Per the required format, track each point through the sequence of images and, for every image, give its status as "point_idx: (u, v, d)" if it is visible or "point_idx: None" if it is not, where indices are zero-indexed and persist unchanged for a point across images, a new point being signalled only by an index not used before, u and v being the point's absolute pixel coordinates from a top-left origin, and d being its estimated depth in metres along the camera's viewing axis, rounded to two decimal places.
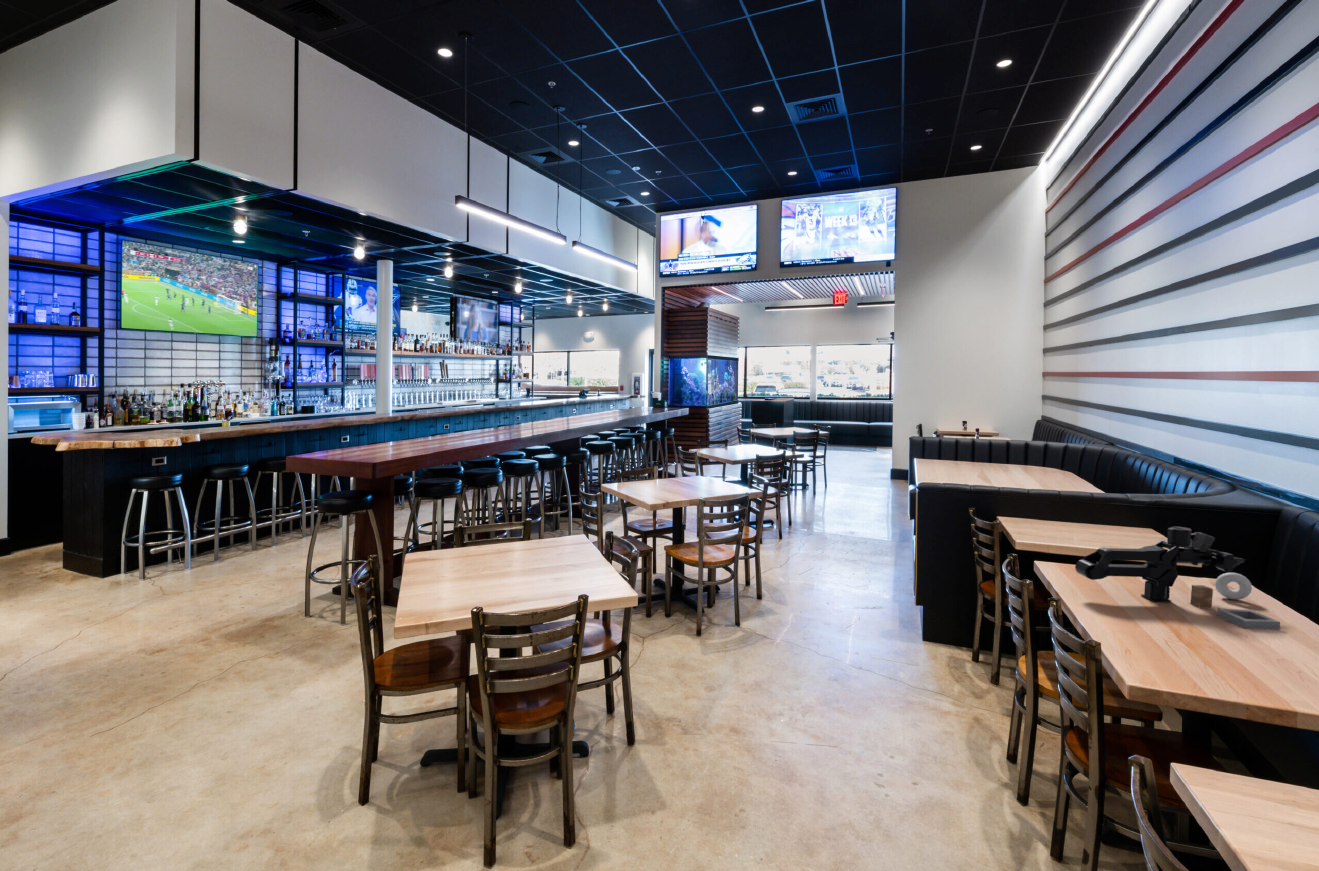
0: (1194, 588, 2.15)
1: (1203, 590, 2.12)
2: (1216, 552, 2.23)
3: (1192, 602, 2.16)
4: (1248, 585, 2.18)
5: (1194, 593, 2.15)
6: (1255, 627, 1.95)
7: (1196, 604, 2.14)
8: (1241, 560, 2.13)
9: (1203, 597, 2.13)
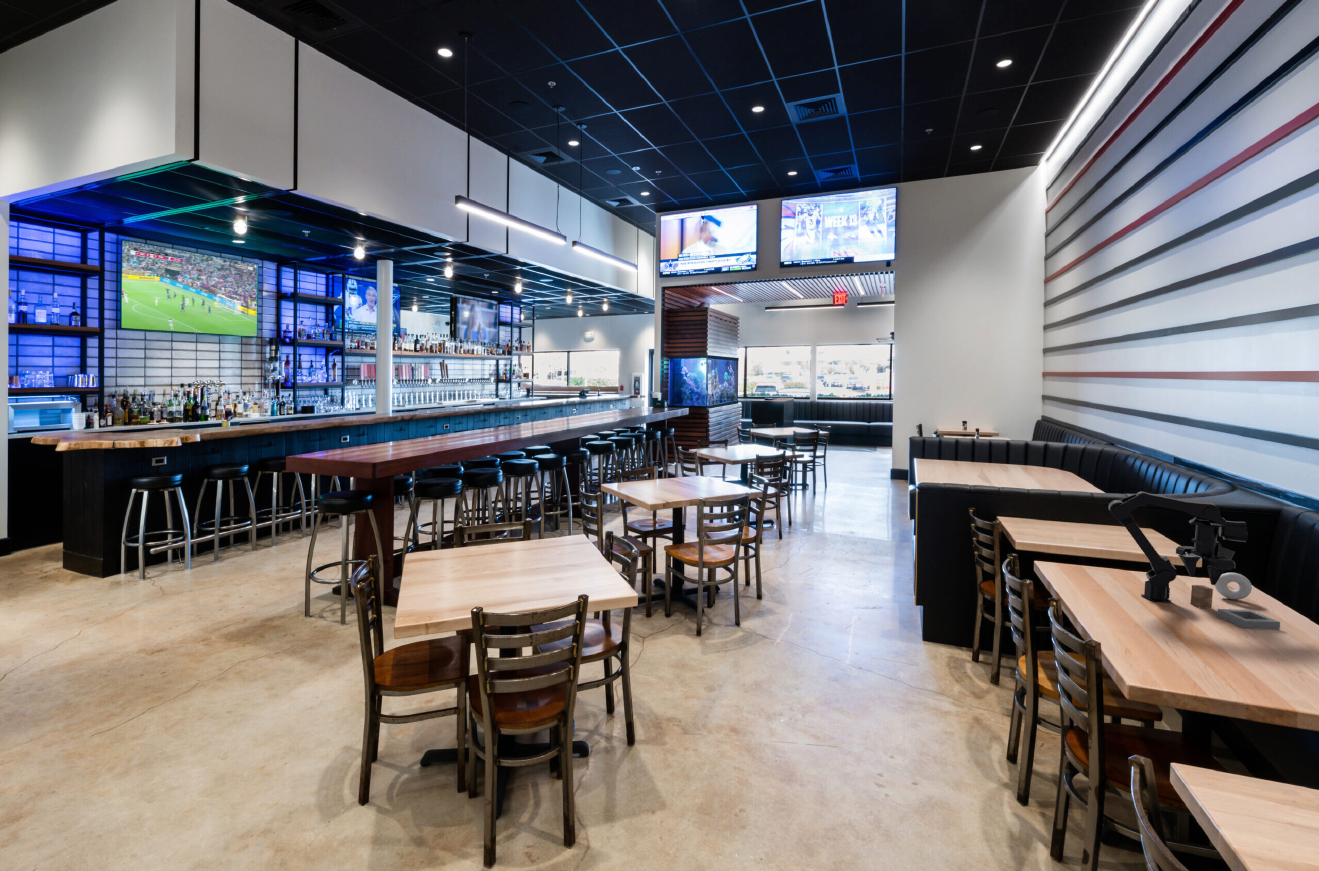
0: (1194, 588, 2.15)
1: (1203, 590, 2.12)
2: (1193, 571, 2.18)
3: (1192, 602, 2.16)
4: (1248, 585, 2.18)
5: (1194, 593, 2.15)
6: (1255, 627, 1.95)
7: (1196, 604, 2.14)
8: (1215, 581, 2.09)
9: (1203, 597, 2.13)
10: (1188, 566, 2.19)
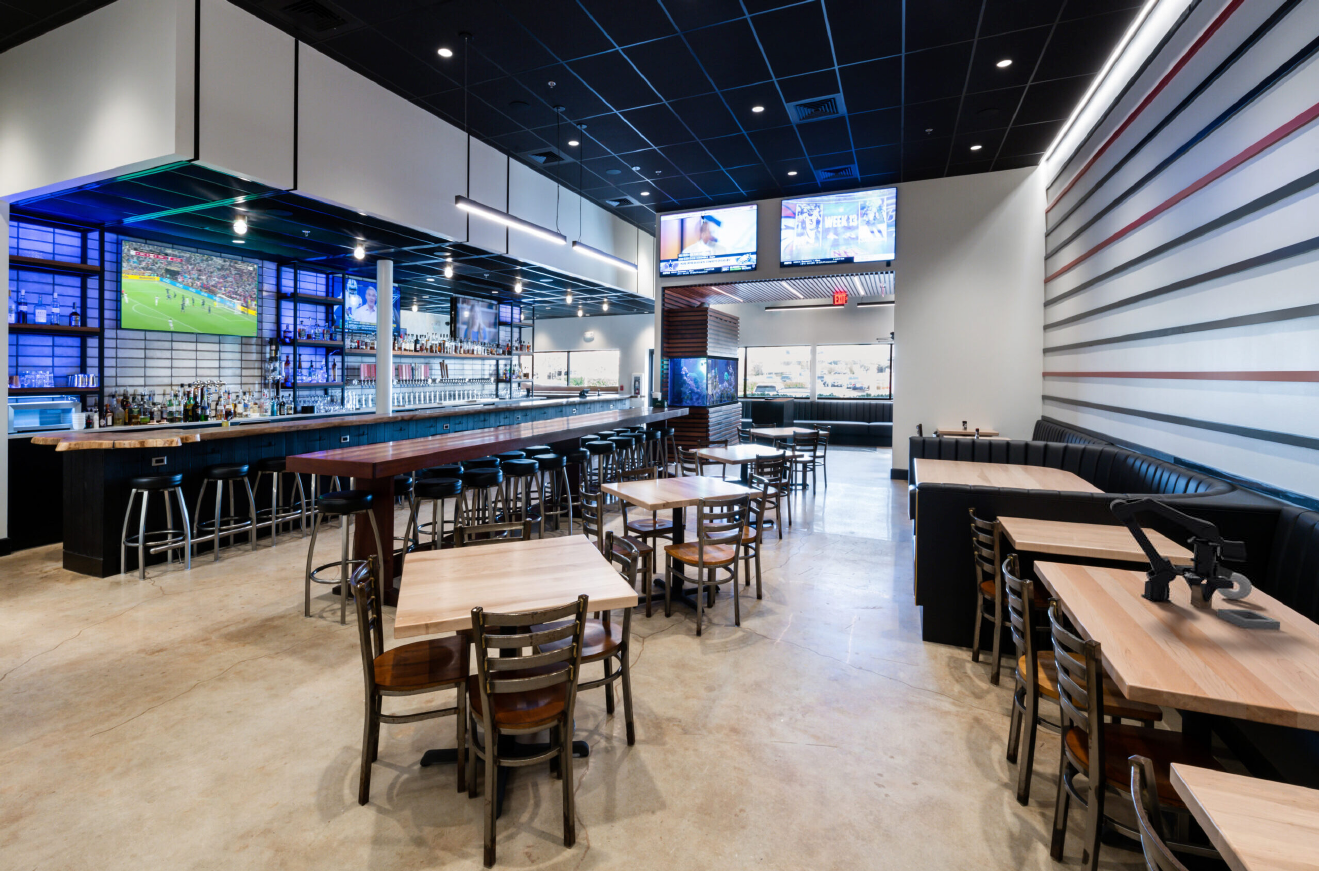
0: (1194, 588, 2.15)
1: None
2: None
3: (1192, 602, 2.16)
4: (1248, 585, 2.18)
5: (1194, 592, 2.15)
6: (1255, 627, 1.95)
7: (1196, 604, 2.14)
8: (1208, 598, 2.12)
9: None
10: None
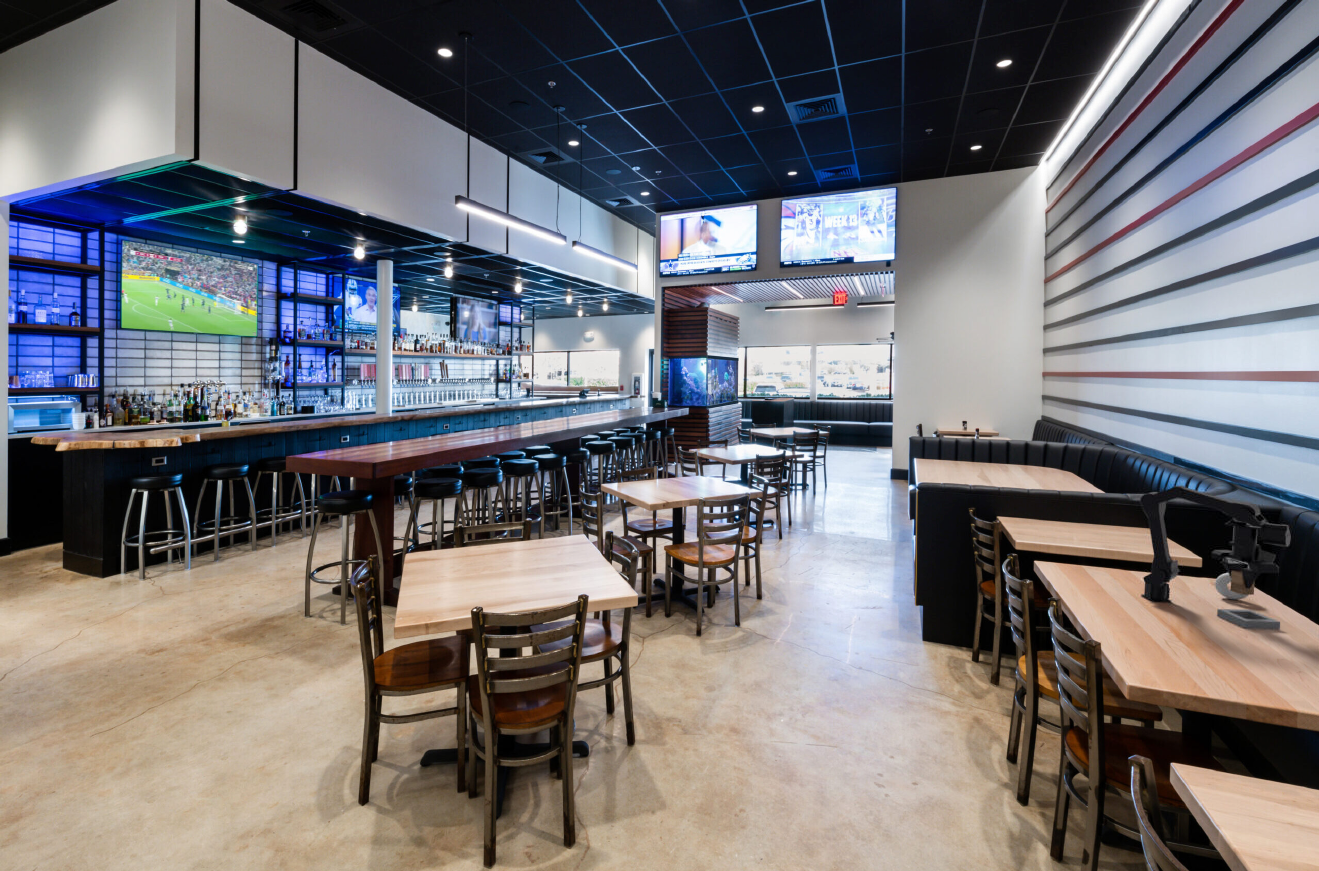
0: (1234, 574, 2.02)
1: None
2: None
3: (1232, 589, 2.03)
4: None
5: (1234, 578, 2.02)
6: (1255, 627, 1.95)
7: (1237, 591, 2.01)
8: (1250, 584, 1.99)
9: None
10: None
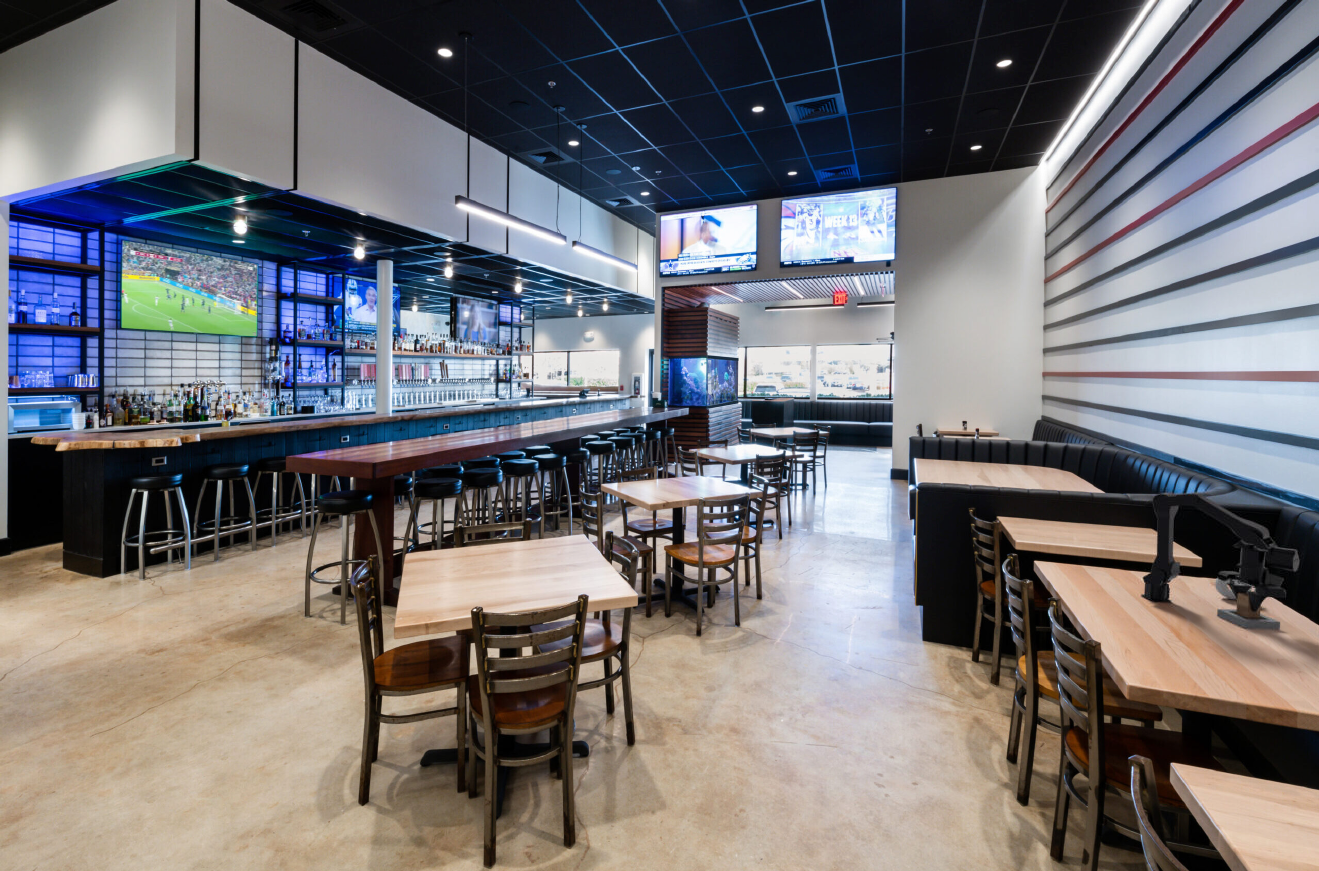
0: (1240, 596, 2.00)
1: None
2: None
3: (1238, 611, 2.01)
4: None
5: (1240, 601, 2.00)
6: (1255, 627, 1.95)
7: (1243, 613, 1.99)
8: (1256, 608, 1.97)
9: None
10: None
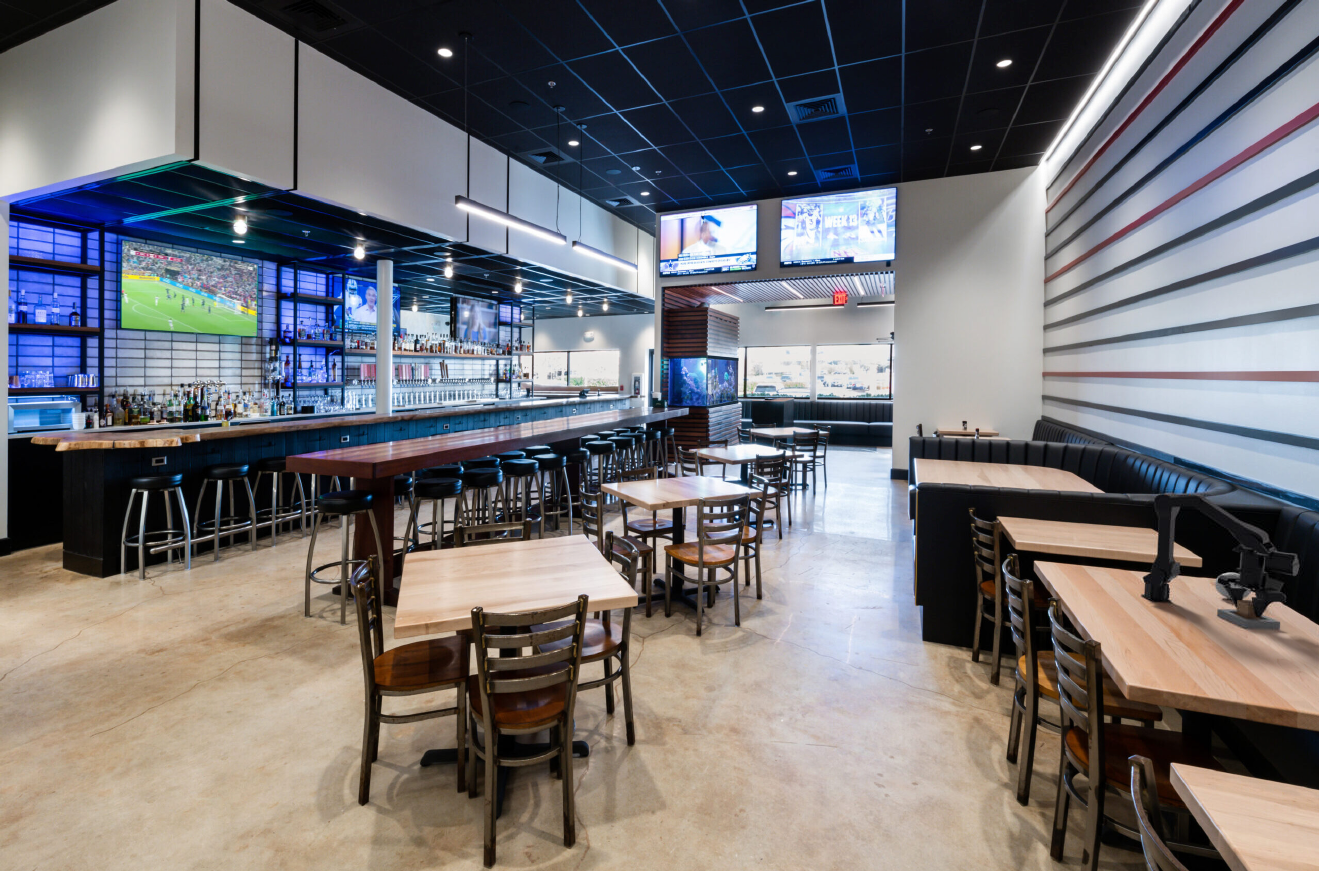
0: (1240, 603, 2.00)
1: (1250, 606, 1.97)
2: None
3: None
4: None
5: (1240, 608, 2.00)
6: (1255, 627, 1.95)
7: None
8: (1260, 614, 1.95)
9: (1251, 613, 1.97)
10: (1234, 598, 2.03)
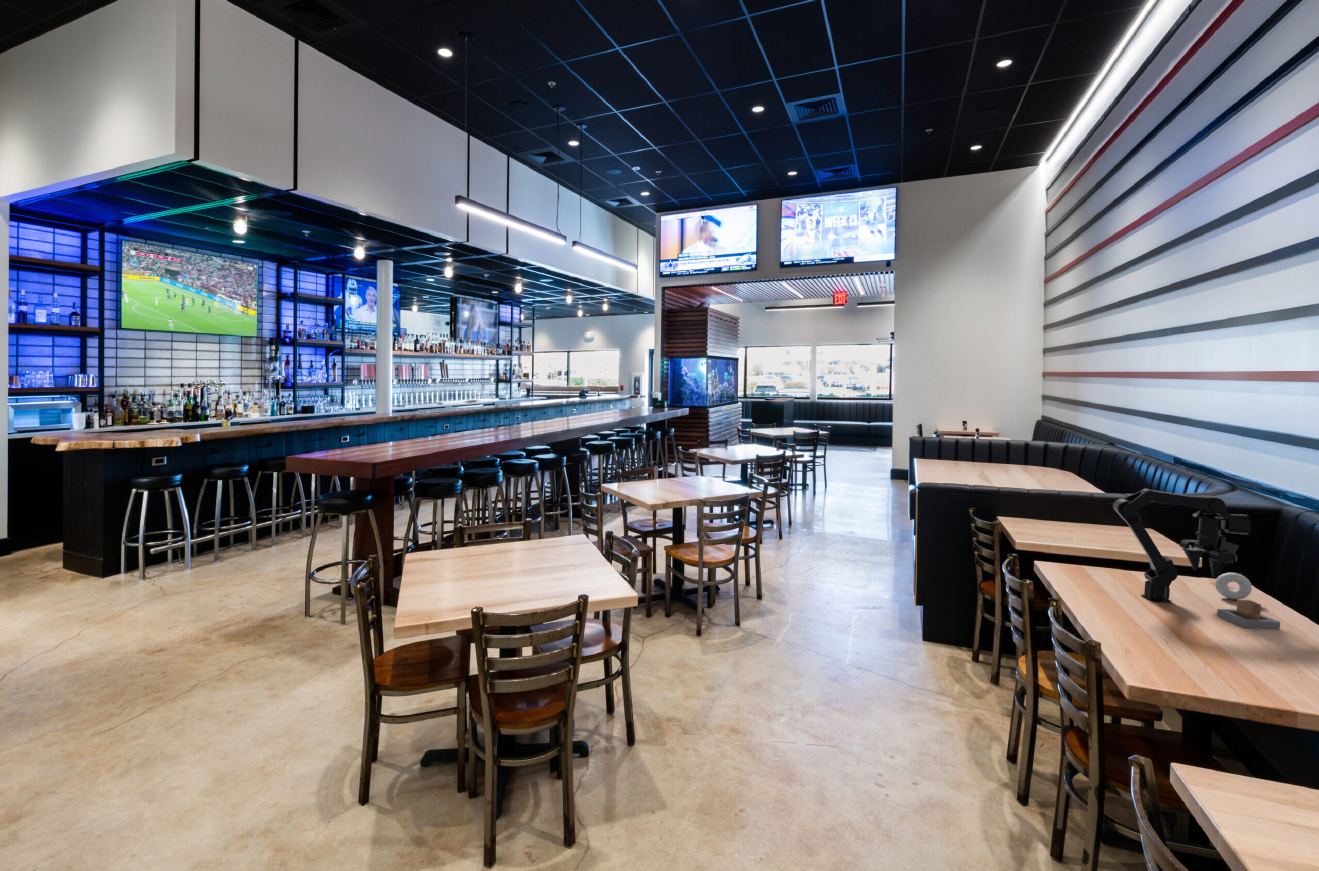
0: (1240, 603, 2.00)
1: (1250, 606, 1.97)
2: (1197, 564, 2.19)
3: None
4: (1248, 585, 2.18)
5: (1240, 608, 2.00)
6: (1255, 627, 1.95)
7: None
8: (1217, 574, 2.10)
9: (1251, 613, 1.97)
10: (1191, 559, 2.20)
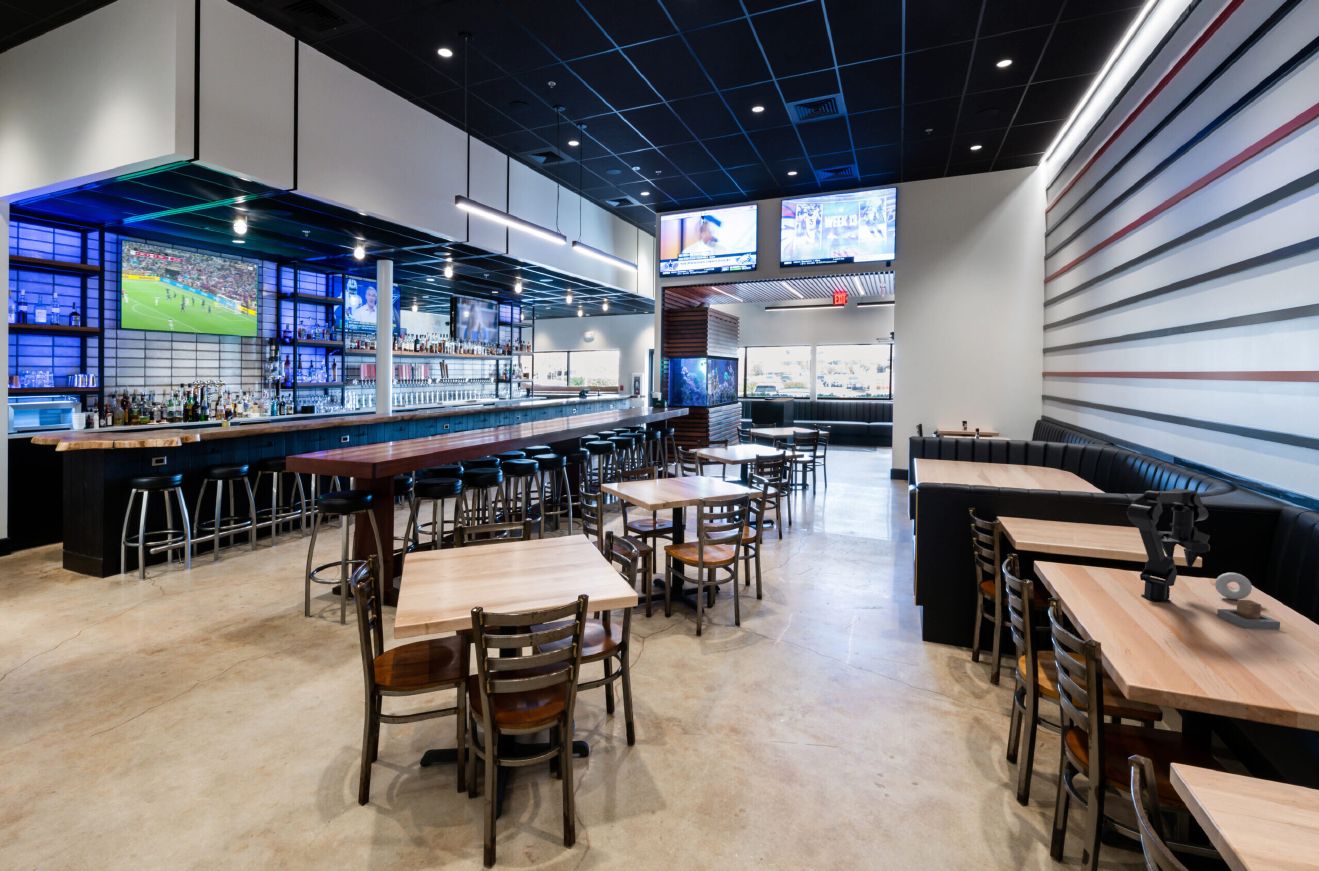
0: (1240, 603, 2.00)
1: (1250, 606, 1.97)
2: (1171, 554, 2.30)
3: None
4: (1248, 585, 2.18)
5: (1240, 608, 2.00)
6: (1255, 627, 1.95)
7: None
8: (1191, 563, 2.20)
9: (1251, 613, 1.97)
10: (1166, 550, 2.30)
